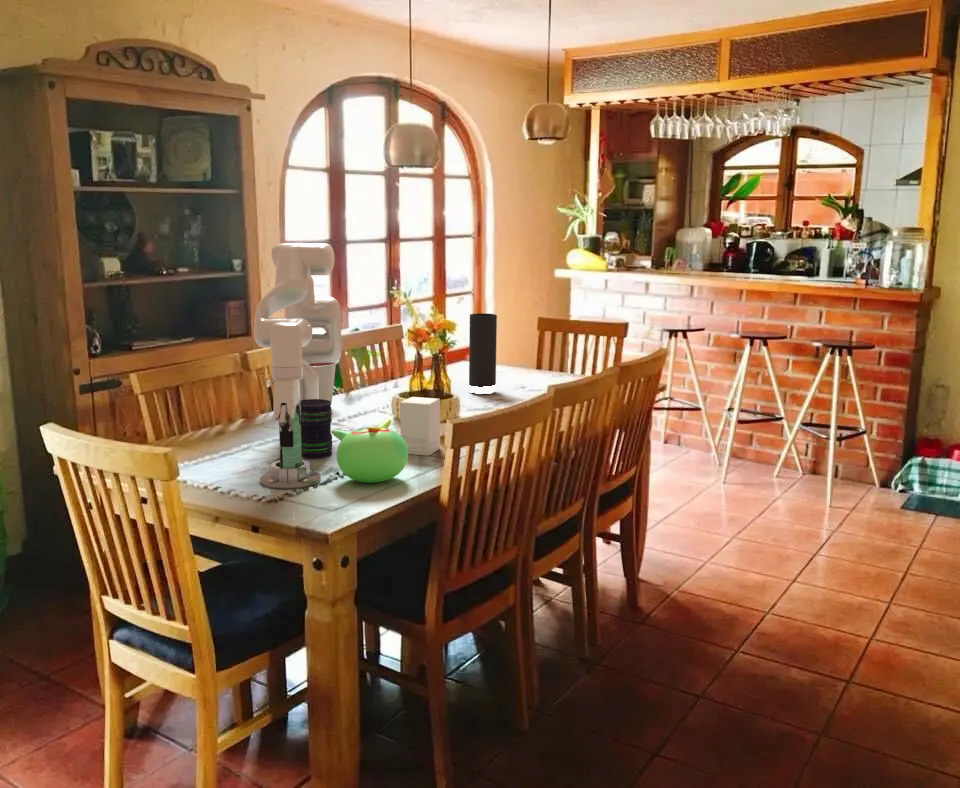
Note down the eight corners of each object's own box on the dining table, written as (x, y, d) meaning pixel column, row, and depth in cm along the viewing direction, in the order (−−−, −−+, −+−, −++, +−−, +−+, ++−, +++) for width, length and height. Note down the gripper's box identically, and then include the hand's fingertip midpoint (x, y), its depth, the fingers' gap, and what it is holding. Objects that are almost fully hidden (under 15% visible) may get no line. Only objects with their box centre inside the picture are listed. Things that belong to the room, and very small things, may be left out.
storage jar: (302, 460, 239) (300, 407, 236) (292, 452, 247) (290, 400, 244) (337, 456, 243) (336, 404, 240) (326, 448, 252) (325, 397, 249)
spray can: (305, 469, 223) (303, 392, 219) (299, 475, 217) (296, 397, 213) (284, 468, 223) (281, 392, 219) (277, 475, 218) (274, 396, 214)
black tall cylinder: (467, 390, 342) (468, 313, 336) (493, 389, 343) (494, 313, 337) (470, 395, 331) (471, 316, 326) (496, 394, 333) (498, 316, 327)
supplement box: (441, 448, 253) (441, 398, 250) (429, 456, 245) (429, 404, 242) (412, 445, 256) (412, 395, 253) (399, 453, 248) (399, 401, 245)
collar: (295, 468, 231) (295, 453, 230) (333, 479, 221) (332, 463, 221) (247, 480, 220) (247, 464, 219) (284, 493, 210) (284, 476, 209)
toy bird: (346, 493, 210) (345, 434, 208) (329, 475, 226) (327, 419, 223) (416, 485, 218) (416, 428, 215) (395, 468, 233) (395, 414, 230)
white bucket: (346, 410, 302) (345, 350, 298) (297, 416, 292) (295, 354, 287) (324, 401, 316) (323, 344, 312) (277, 407, 306) (275, 347, 302)
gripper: (279, 366, 224) (282, 435, 227) (263, 378, 207) (266, 452, 210) (309, 366, 224) (310, 435, 227) (295, 379, 207) (297, 453, 211)
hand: (289, 442), depth 219 cm, fingers closed on spray can, 5 cm apart
